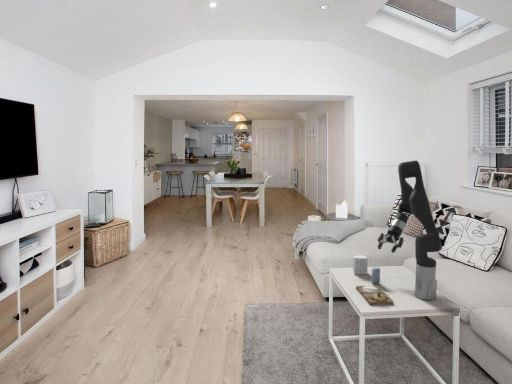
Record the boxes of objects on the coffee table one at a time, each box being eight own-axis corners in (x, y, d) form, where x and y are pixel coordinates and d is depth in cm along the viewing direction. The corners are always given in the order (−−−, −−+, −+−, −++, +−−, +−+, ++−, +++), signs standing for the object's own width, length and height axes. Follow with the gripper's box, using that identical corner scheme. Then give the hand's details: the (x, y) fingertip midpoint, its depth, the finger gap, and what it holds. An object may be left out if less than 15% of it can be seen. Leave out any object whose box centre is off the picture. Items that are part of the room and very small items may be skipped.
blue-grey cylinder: (381, 283, 190) (381, 268, 189) (376, 285, 187) (377, 270, 186) (374, 281, 194) (374, 266, 193) (370, 283, 191) (370, 268, 190)
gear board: (393, 304, 164) (393, 295, 163) (369, 304, 163) (370, 295, 163) (377, 288, 184) (377, 280, 183) (356, 288, 183) (356, 280, 183)
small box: (365, 271, 210) (365, 255, 209) (367, 274, 205) (368, 258, 204) (352, 271, 211) (352, 255, 210) (354, 274, 206) (354, 258, 204)
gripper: (383, 222, 204) (372, 244, 198) (406, 226, 193) (394, 249, 187) (387, 229, 208) (376, 251, 202) (410, 234, 196) (399, 256, 191)
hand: (385, 250), depth 194 cm, fingers open, 8 cm apart
